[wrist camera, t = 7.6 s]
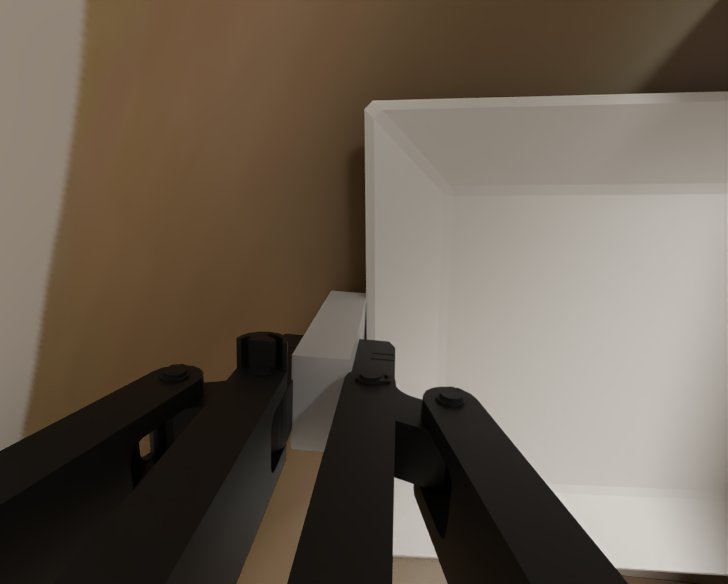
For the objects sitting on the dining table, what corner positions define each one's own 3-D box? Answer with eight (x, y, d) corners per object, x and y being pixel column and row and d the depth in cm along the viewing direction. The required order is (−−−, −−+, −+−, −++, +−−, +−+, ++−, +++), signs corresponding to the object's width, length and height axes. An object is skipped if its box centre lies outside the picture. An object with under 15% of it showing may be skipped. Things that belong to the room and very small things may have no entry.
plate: (371, 523, 21) (368, 559, 19) (367, 109, 16) (363, 99, 14) (786, 545, 19) (830, 587, 17) (913, 95, 15) (994, 82, 13)
